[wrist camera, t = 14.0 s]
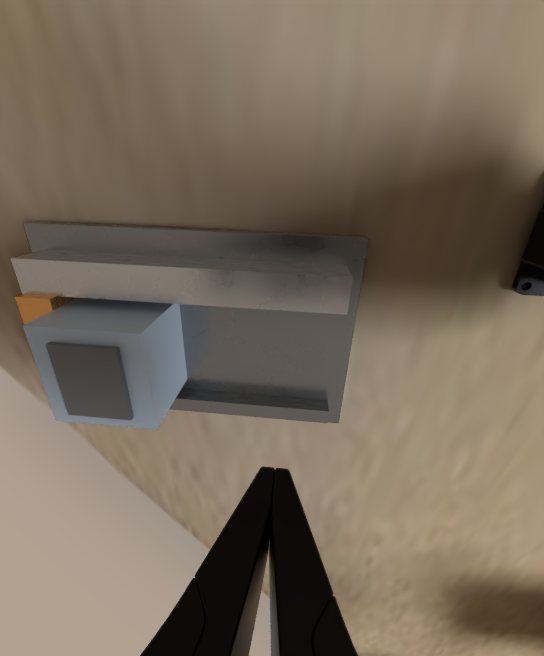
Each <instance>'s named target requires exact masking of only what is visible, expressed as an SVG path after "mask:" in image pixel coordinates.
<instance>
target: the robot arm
mask: <svg viewBox="0 0 544 656" xmlns="http://www.w3.org/2000/svg"><path fill="white" fill-rule="evenodd" d="M526 282H527V285H526V287H524V288H522V285H523V284H524V283H526ZM513 290H514V291H515V292H517V293H519V294H522V295H535V296H544V205H543V207H542V210H541V212H539V214H538V217H537V220H536V222H535V225H534V227H533V230H532V233H531V235H530V238H529V241H528V243H527V246H526V248H525V251H524V254H523V256H522V262H521V264H520V267H519V270H518V272H517V275H516V278H515V280H514V283H513ZM269 542H270V545H269ZM268 550H269V574H270V620H271V621H270V623H271V656H358V654H357V652H356V650H355V648H354V645H353V643H352V641H351V638H350V635H349V633H348V630H347V628H346V625H345V623H344V620H343V617H342V615H341V612H340V609H339V607H338V604H337V601H336V598H335V596H333V590H332V588H331V585H330V582H329V579H328V576H327V574H326V571H325V568H324V565H323V563H322V560H321V557H320V554H319V551H318V549H317V546H316V543H315V540H314V538H313V535H312V532H311V529H310V526H309V524H308V521H307V518H306V515H305V513H304V510H303V507H302V504H301V501H300V499H299V496H298V493H297V490H296V488H295V485H294V482H293V479H292V476H291V474H290V471H289V470H288V469H283V468H276V469H274V468H273V467H261V468H260V470H259V471H258V473H257V475H256V476H255V478H254V480H253V481H252V483H251V484H250V486H249V488H248V489H247V491H246V493H245V494H244V496H243V497H242V499H241V501H240V502H239V504H238V506H237V507H236V509H235V511H234V512H233V514H232V515H231V517H230V519H229V520H228V522H227V524H226V525H225V527H224V528H223V530H222V532H221V533H220V535H219V537H218V538H217V540H216V542H215V543H214V545H213V546H212V548H211V550H210V551H209V553H208V555H207V556H206V558H205V560H204V561H203V563H202V564H201V566H200V568H199V569H198V571H197V573H196V575H195V578H193V579H192V580H191V582H190V584H189V585H188V587H187V589H186V590H185V592H184V594H183V595H182V597H181V598H180V600H179V601H178V603H177V604H176V606H175V607H174V609H173V610H172V612H171V613H170V615H169V617H168V618H167V619H166V621H165V622H164V624H163V625H162V626H161V628H160V629H159V631H158V632H157V633H156V635H155V636H154V638H153V639H152V640H151V642H150V643H149V644H148V646H147V647H146V648H145V650H144V651H143V652H142V654H141V655H140V656H249V650H250V645H251V640H252V635H253V630H254V624H255V619H256V614H257V608H258V604H259V598H260V593H261V588H262V583H263V578H264V573H265V567H266V562H267V556H268Z"/></svg>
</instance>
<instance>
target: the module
mask: <svg viewBox="0 0 544 656" xmlns="http://www.w3.org/2000/svg"><path fill="white" fill-rule="evenodd" d="M23 329H24V332H25V335H26V337H27V340H28V343H29V346H30V349H31V352H32V354H33V357H34V360H35V363H36V366H37V369H38V371H39V374H40V377H41V380H42V383H43V386H44V388H45V391H46V394H47V397H48V400H49V403H50V405H51V408H52V411H53V414H54V417H55V420H57V421H67V422H78V423H89V424H100V425H111V426H122V427H133V428H144V429H155V430H157V429H158V427H159V425H160V424H161V422H162V420H163V419H164V417H165V415H166V414H167V412H168V410H169V409H170V407H171V405H172V404H173V402H174V400H175V399H176V397H177V395H178V394H179V392H180V390H181V389H182V387H183V385H184V384H185V382H186V380H187V370H186V361H185V352H184V342H183V333H182V323H181V314H180V305H179V304H172V303H156V302H140V301H125V300H109V299H93V298H77V299H75V300H73V301H71V302H69V303H67V304H65V305H63V306H61V307H59V308H57V309H55V310H53V311H51V312H49V313H47V314H45V315H43V316H41V317H39V318H37V319H35V320H33V321H31V322H29V323H27V324H25V325H23Z"/></svg>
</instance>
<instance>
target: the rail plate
mask: <svg viewBox="0 0 544 656" xmlns="http://www.w3.org/2000/svg"><path fill="white" fill-rule="evenodd" d="M23 225H24V228H25V231H26V235H27V238H28V241H29V245H30V248H31V251H32V253H30V254H26V255H22V256H17V257H13V258H10V259H11V262H12V265H13V268H14V271H15V274H16V277H17V280H18V283H19V286H20V289H21V292H22V294H21V295H18V296H16V297H15V299H16V302H17V305H18V308H19V311H20V314H21V317H22V319H23V322H24V325H25V324H27V323H29V322H31V321H33V320H35V319H37V318H39V317H41V316H43V315H45V314H47V313H49V312H51V311H53V310H55V309H57V308H59V307H61V306H63V305H65V304H67V303H69V302H71V301H73V300H75V299H77V298H93V299H109V300H125V301H140V302H156V303H172V304H179V305H180V314H181V323H182V333H183V342H184V352H185V361H186V370H187V380H186V382H185V384H184V385H183V387H182V389H181V390H180V392H179V394H178V395H177V397H176V399H175V400H174V402H173V404H172V405H171V407H170V409H173V410H185V411H196V412H207V413H219V414H230V415H241V416H253V417H264V418H275V419H287V420H298V421H309V422H321V423H328V422H329V423H339V418H340V411H341V405H342V399H343V393H344V387H345V381H346V375H347V368H348V362H349V356H350V350H351V344H352V338H353V332H354V325H355V319H356V313H357V307H358V301H359V295H360V289H361V282H362V276H363V270H364V264H365V258H366V252H367V246H368V240H369V239H368V238H367V237H366V236H351V235H329V234H307V233H286V232H264V231H242V230H220V229H198V228H177V227H155V226H133V225H111V224H89V223H68V222H46V221H33V222H25V223H23Z"/></svg>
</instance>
